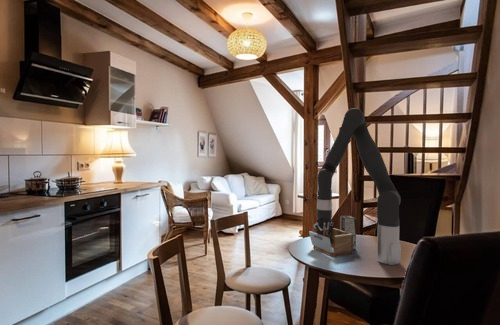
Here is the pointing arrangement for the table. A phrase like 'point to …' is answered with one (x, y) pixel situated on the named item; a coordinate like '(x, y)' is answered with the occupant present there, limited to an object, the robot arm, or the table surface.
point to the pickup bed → (339, 243)
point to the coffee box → (349, 226)
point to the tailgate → (320, 241)
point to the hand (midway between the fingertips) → (323, 242)
